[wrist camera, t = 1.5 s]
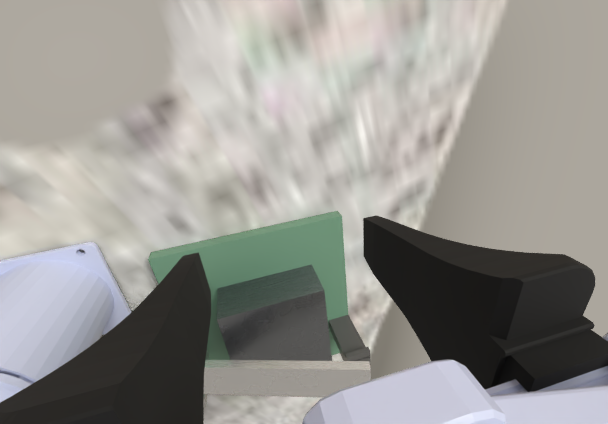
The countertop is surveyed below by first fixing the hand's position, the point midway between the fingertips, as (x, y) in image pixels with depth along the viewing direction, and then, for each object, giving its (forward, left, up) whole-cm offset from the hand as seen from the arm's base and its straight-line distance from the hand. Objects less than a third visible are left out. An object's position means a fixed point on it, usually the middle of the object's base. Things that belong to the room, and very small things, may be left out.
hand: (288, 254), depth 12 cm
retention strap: (-2, -12, -4) cm, 13 cm away
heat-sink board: (-1, -12, -11) cm, 16 cm away
